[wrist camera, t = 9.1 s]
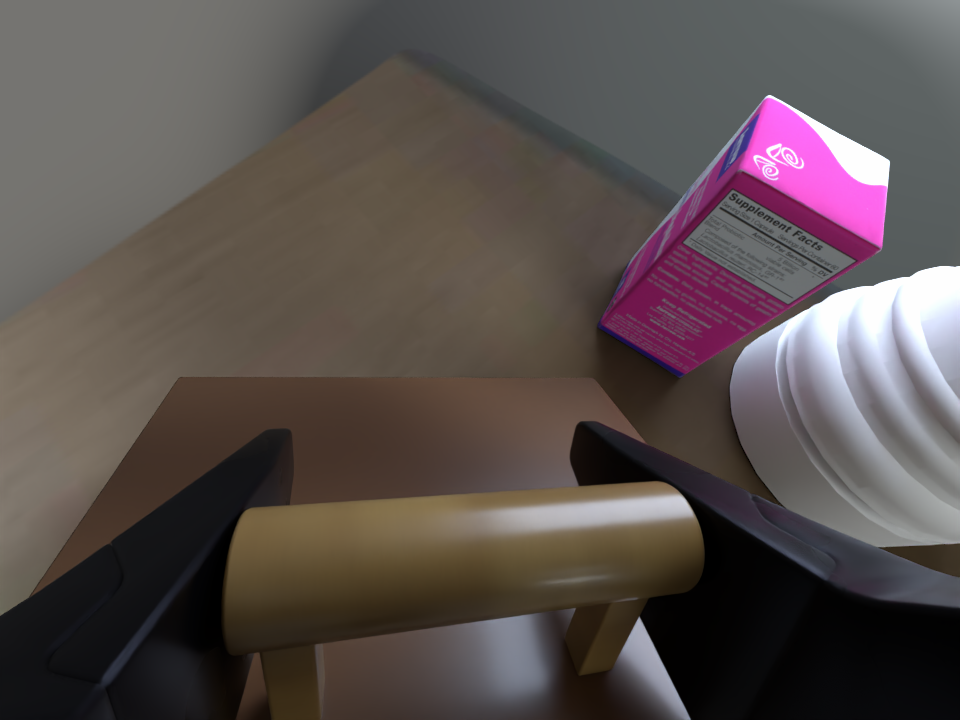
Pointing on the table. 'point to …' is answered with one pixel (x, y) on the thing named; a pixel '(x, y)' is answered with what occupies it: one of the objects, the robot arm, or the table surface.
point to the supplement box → (751, 238)
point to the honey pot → (861, 410)
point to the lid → (423, 548)
